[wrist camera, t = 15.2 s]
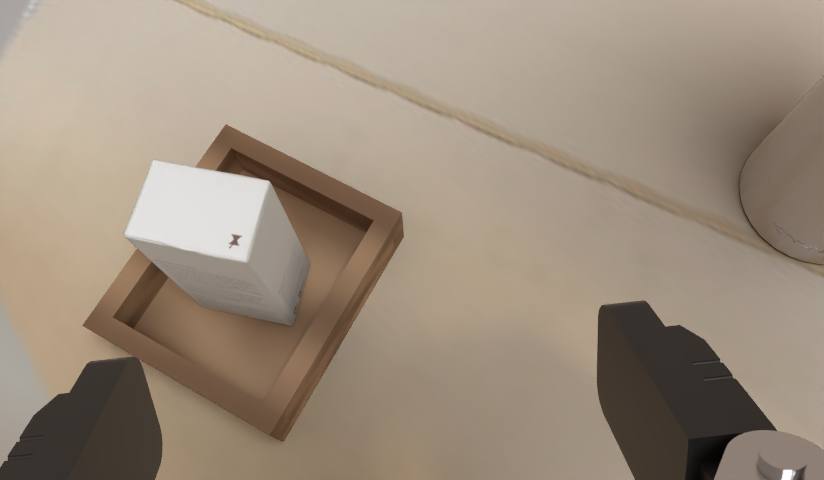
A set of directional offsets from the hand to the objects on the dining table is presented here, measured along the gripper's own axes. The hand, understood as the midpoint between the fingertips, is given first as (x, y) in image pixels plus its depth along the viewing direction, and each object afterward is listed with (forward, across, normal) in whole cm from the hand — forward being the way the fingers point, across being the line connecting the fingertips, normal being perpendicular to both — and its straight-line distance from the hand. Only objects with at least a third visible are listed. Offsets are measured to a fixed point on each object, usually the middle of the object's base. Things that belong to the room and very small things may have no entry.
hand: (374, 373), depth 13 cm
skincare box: (+29, +8, +13) cm, 33 cm away
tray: (+30, +8, +14) cm, 34 cm away
